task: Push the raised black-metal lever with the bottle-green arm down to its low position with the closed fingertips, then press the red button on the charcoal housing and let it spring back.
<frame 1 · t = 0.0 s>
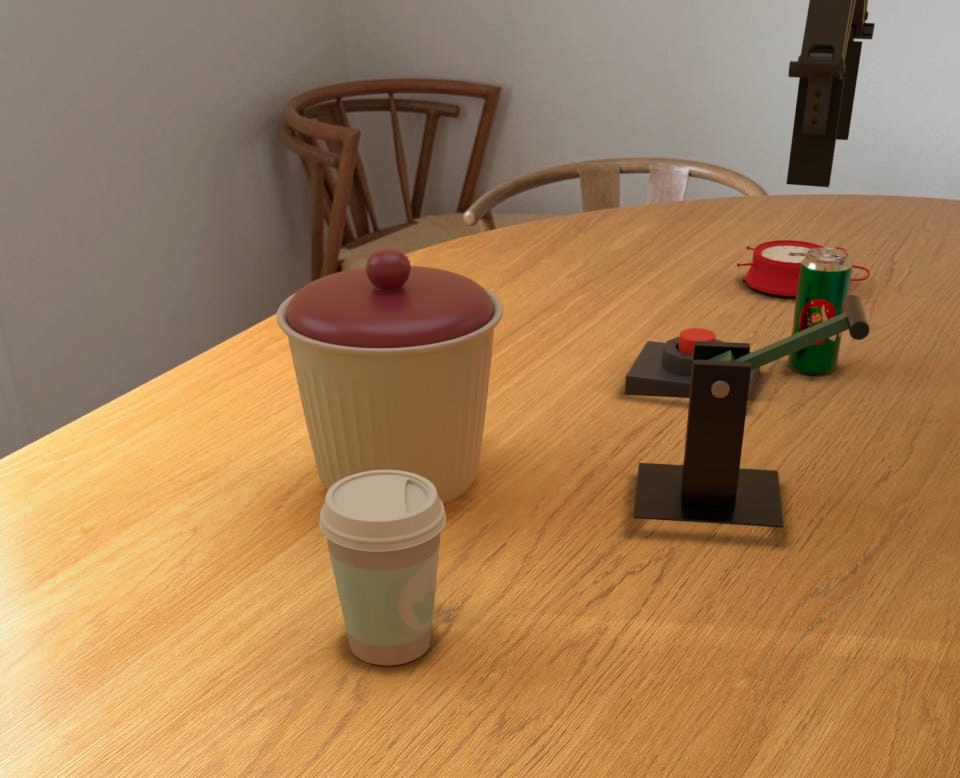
hand: (819, 160, 87), 29 cm above the table, tool pointing down, fingers open, 13 cm apart
soda can: (811, 369, 132), on the table
button: (697, 342, 126), point 4 cm above the table, slide at 0.1 cm
coffee cup: (390, 645, 90), on the table
bracket: (706, 508, 107), on the table
button box: (693, 384, 129), on the table
canister: (399, 493, 110), on the table
lever: (782, 348, 98), point 14 cm above the table, hinge at 28.0°
alarm clock: (801, 287, 153), on the table
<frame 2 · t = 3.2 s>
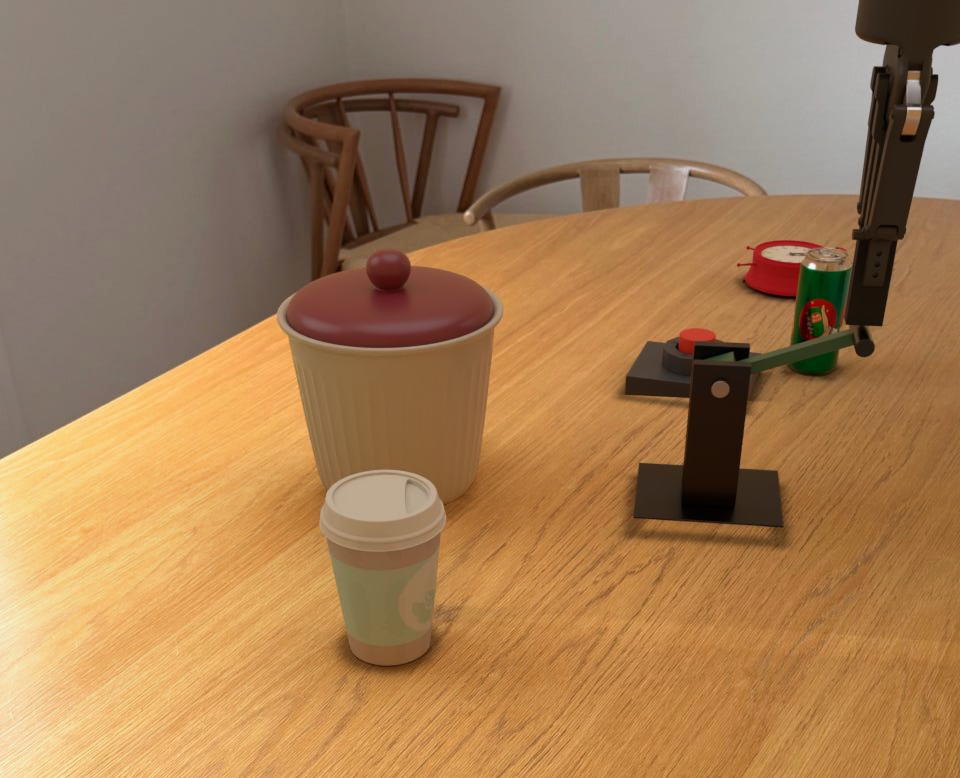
hand: (863, 321, 96), 17 cm above the table, tool pointing down, fingers closed
lever: (785, 356, 98), point 14 cm above the table, hinge at 20.3°, touching gripper
everything else where it was.
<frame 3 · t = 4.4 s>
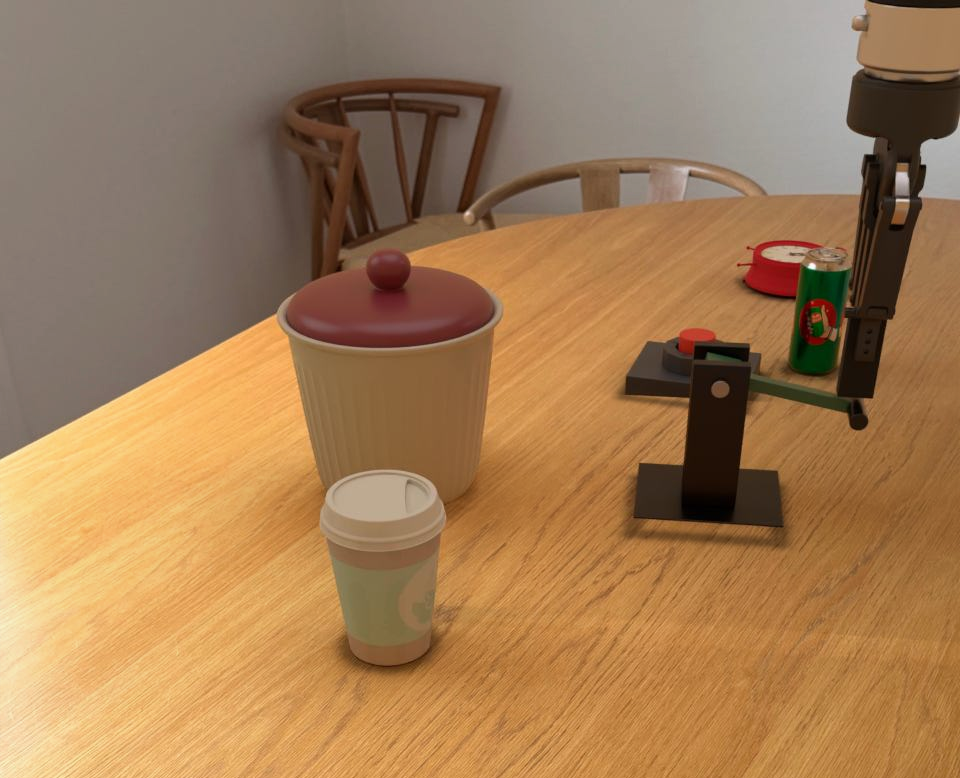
hand: (854, 393, 99), 11 cm above the table, tool pointing down, fingers closed
lever: (783, 389, 100), point 11 cm above the table, hinge at -11.2°, touching gripper
everything else where it was.
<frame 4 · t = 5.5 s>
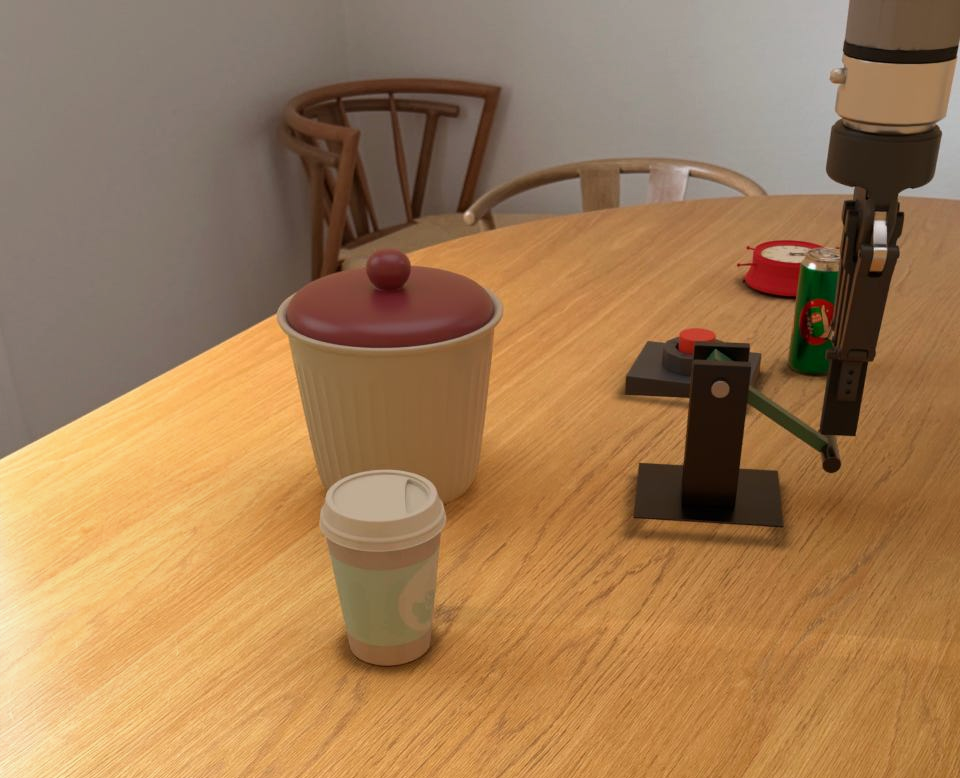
hand: (837, 431, 101), 8 cm above the table, tool pointing down, fingers closed
lever: (771, 410, 101), point 9 cm above the table, hinge at -32.4°
everything else where it was.
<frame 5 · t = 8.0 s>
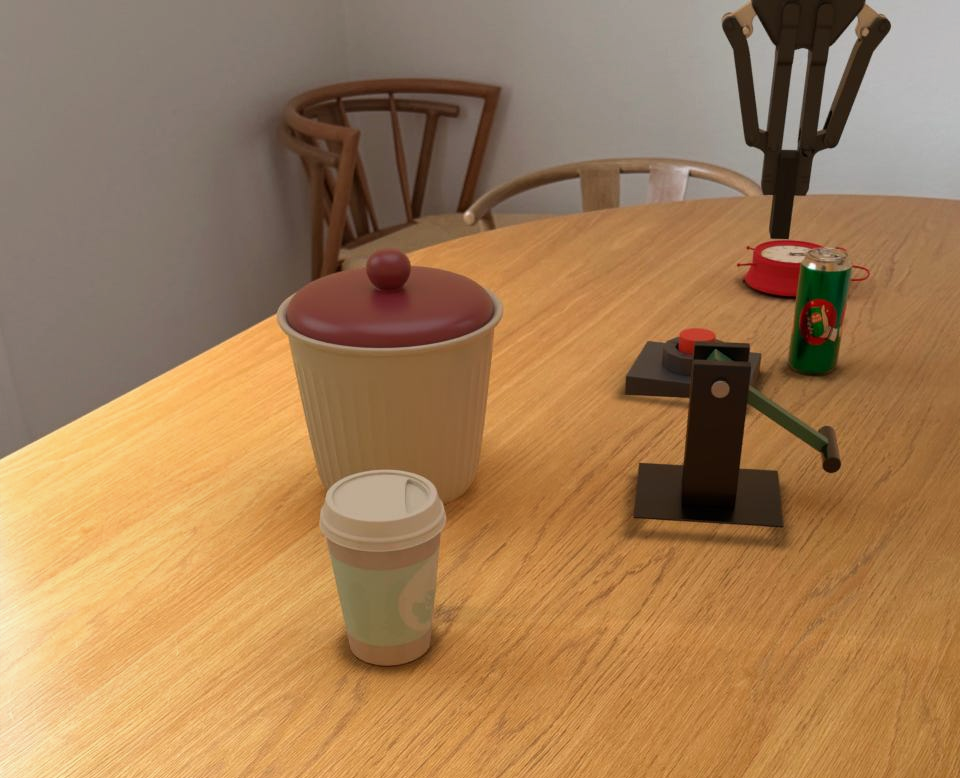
hand: (778, 234, 106), 19 cm above the table, tool pointing down, fingers closed
nothing on the table moved.
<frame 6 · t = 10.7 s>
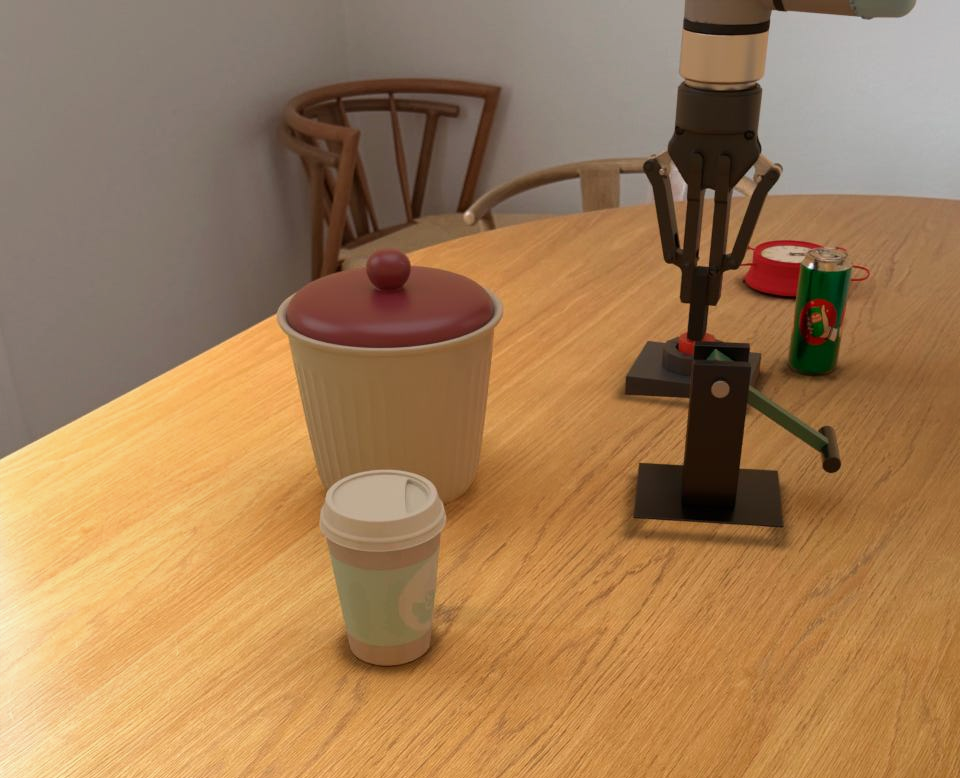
hand: (696, 334, 126), 5 cm above the table, tool pointing down, fingers closed
button: (696, 345, 126), point 4 cm above the table, slide at -0.2 cm, touching gripper
everything else where it was.
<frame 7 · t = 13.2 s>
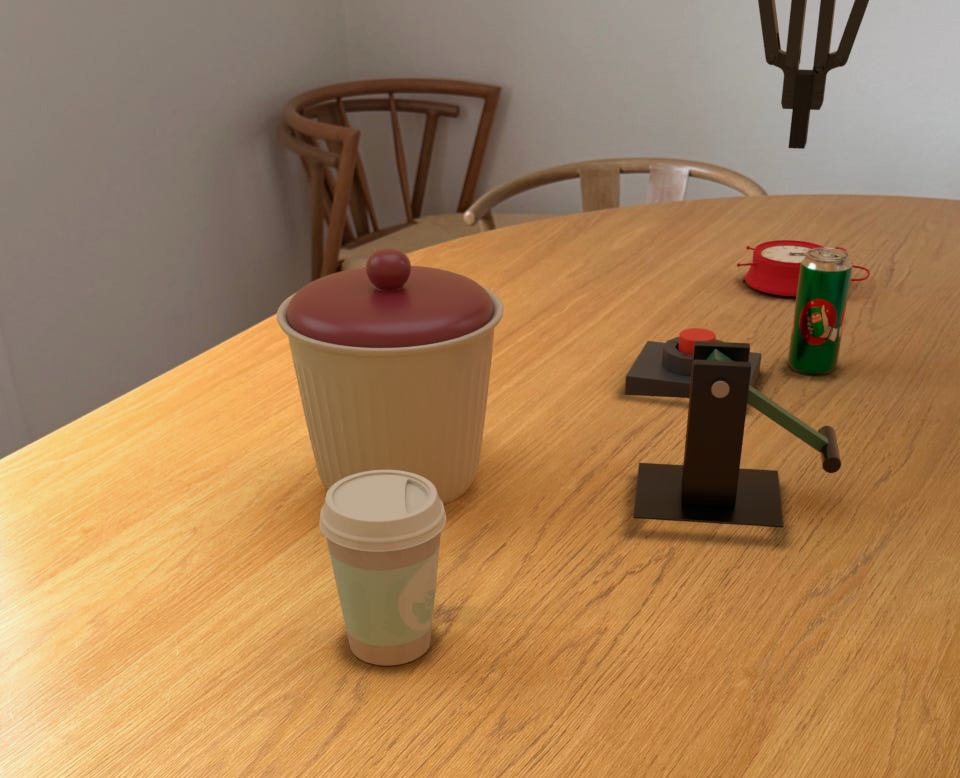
hand: (797, 145, 121), 22 cm above the table, tool pointing down, fingers closed
button: (697, 342, 126), point 4 cm above the table, slide at 0.1 cm
everything else where it was.
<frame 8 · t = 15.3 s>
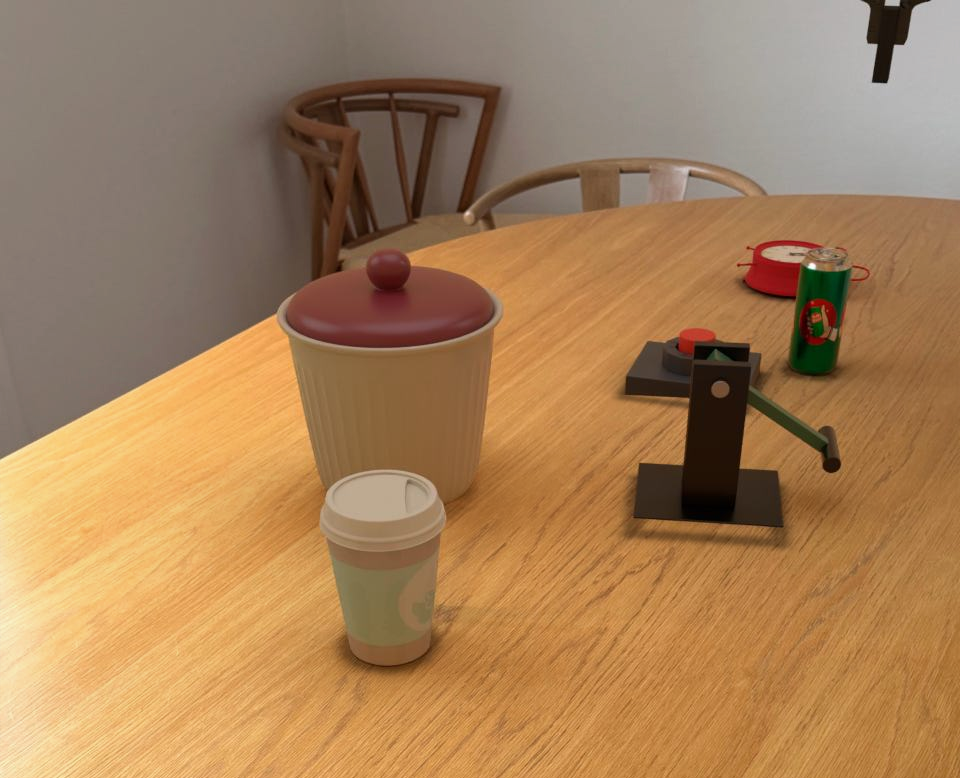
hand: (880, 80, 124), 26 cm above the table, tool pointing down, fingers closed
nothing on the table moved.
at the end: lever at -32° (first picture: +28°); button pushed in 1.0 cm at the most during the clip, back to where it started at the end; button slide at 0.1 cm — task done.
